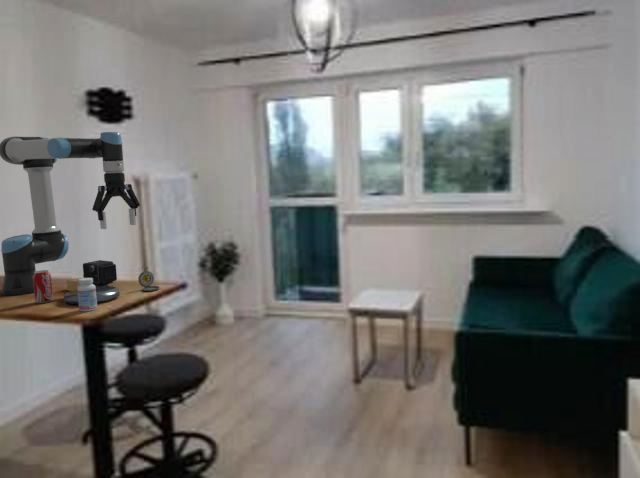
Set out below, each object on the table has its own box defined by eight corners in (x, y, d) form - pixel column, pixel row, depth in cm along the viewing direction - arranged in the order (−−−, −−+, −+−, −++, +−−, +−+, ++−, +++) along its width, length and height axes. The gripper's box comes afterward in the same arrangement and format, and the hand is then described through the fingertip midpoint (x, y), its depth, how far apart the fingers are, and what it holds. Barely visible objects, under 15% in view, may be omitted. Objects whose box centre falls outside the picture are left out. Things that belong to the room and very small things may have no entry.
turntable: (47, 300, 214) (45, 285, 213) (91, 289, 231) (90, 275, 230) (87, 305, 202) (85, 289, 202) (130, 293, 220) (129, 278, 219)
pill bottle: (75, 311, 198) (72, 280, 197) (88, 307, 204) (85, 277, 202) (88, 312, 196) (85, 281, 195) (101, 308, 202) (98, 277, 200)
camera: (81, 289, 240) (101, 289, 231) (77, 263, 239) (96, 262, 230) (103, 284, 248) (123, 284, 239) (99, 259, 247) (119, 258, 238)
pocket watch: (154, 292, 225) (152, 267, 224) (135, 291, 227) (133, 267, 225) (164, 287, 233) (162, 263, 231) (145, 287, 235) (143, 263, 233)
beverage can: (41, 304, 211) (38, 273, 209) (32, 303, 214) (28, 272, 212) (56, 301, 216) (53, 270, 214) (47, 299, 219) (44, 269, 217)
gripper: (91, 173, 204) (96, 230, 207) (146, 171, 225) (150, 223, 228) (79, 173, 208) (84, 230, 211) (134, 171, 229) (138, 223, 232)
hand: (118, 226), depth 220 cm, fingers open, 13 cm apart
